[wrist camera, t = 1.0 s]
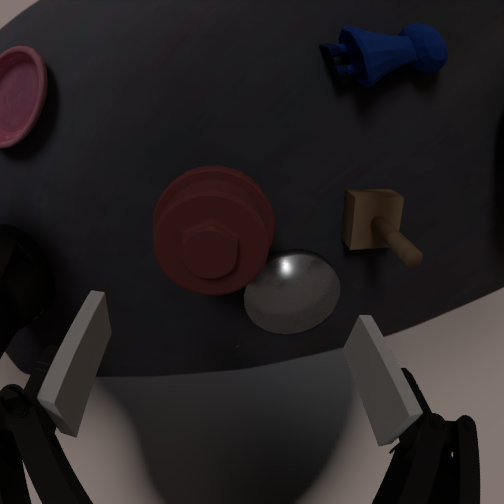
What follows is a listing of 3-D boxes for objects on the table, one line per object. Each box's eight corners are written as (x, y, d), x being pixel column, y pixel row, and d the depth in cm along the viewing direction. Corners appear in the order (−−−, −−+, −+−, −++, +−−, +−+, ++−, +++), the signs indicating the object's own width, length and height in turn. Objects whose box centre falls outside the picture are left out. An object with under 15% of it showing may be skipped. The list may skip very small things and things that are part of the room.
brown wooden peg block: (341, 238, 33) (379, 292, 24) (345, 189, 31) (392, 229, 21) (385, 235, 34) (431, 284, 24) (391, 189, 31) (446, 227, 21)
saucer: (-5, 59, 18) (-20, 59, 16) (64, 38, 20) (49, 34, 17) (-10, 147, 24) (-25, 152, 21) (54, 140, 26) (39, 144, 23)
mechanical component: (284, 189, 30) (229, 257, 34) (205, 133, 27) (154, 210, 31) (313, 239, 20) (228, 331, 23) (186, 151, 16) (116, 269, 20)
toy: (335, 94, 26) (441, 73, 24) (356, 93, 21) (473, 73, 19) (312, 37, 23) (424, 22, 21) (328, 23, 18) (453, 14, 15)
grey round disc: (235, 321, 38) (235, 328, 37) (255, 241, 33) (256, 247, 32) (318, 330, 40) (320, 337, 39) (350, 258, 35) (354, 264, 34)
